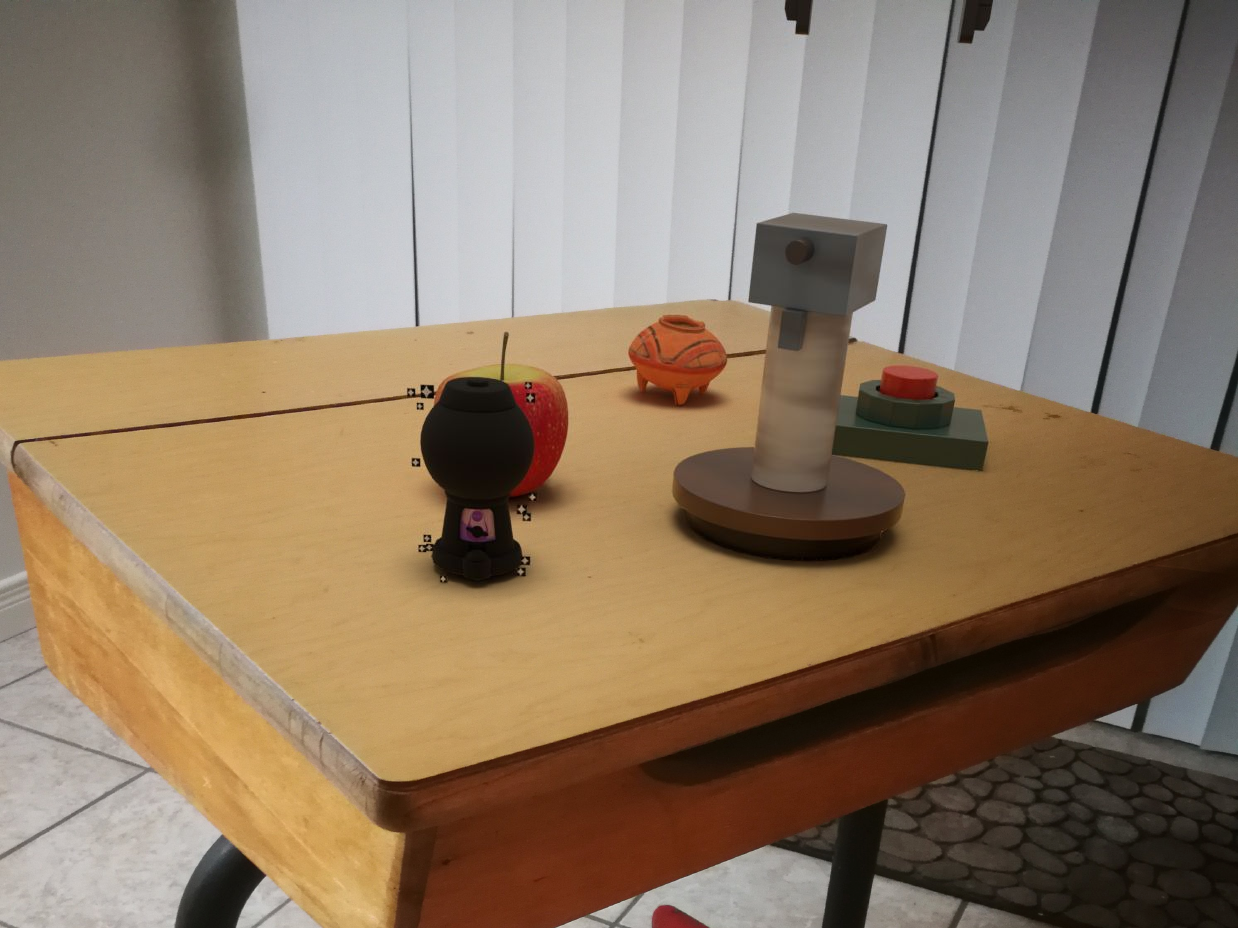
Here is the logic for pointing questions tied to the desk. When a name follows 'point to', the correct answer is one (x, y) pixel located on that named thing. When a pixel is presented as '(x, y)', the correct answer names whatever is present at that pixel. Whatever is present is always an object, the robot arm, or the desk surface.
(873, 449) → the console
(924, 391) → the button
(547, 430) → the apple
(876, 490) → the grey-topped column stand
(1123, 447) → the desk surface
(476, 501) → the gumball machine
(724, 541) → the base
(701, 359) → the pot
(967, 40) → the robot arm
